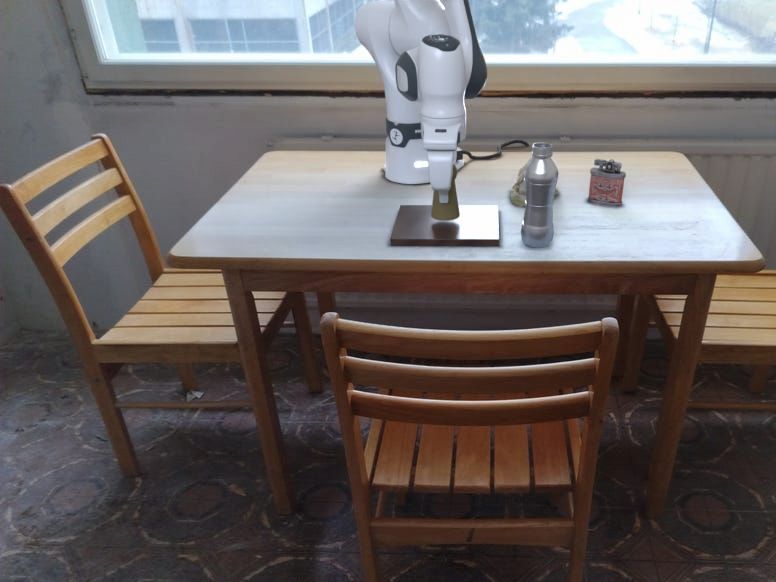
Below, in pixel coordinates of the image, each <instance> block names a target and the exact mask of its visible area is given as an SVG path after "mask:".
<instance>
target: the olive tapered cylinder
mask: <svg viewBox="0 0 776 582" xmlns="http://www.w3.org/2000/svg"><path fill="white" fill-rule="evenodd" d="M457 176H458V170H457V168H456V166H455V165H453V177H452V181H451V187H450V190H449V191H448V192H449V200H448V203H440V201H439V192H438V191H434V190H433V194H432V202H431V203H432V204H431V205H432V213H431V216H432V218H434V219H436V220H440V221H451V220H455V219H457V218H458V217H460V212H459V206H458V205H459V200H458V194H457V193H458V192H457V186H456V179H457Z"/></svg>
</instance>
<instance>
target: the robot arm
mask: <svg viewBox="0 0 776 582" xmlns="http://www.w3.org/2000/svg"><path fill="white" fill-rule="evenodd" d="M473 17H474V16H473V13H472V10H471V5H470V1H469V0H441V1H440V0H375V1H370V2H366V3H364V4H362V5H361V6H360V7H359V8H358V9H357V12H356V15H355V19H354V31H355V35H356V37H357V40H358V41H359V43H360V44H361V45H362V46H363V48H365V49H366V50H367V52H368V53H369V55H370V56H371V58H372V60H373V61H374V63H375V65H376V68H377V70H378V72H379V75H380V78H381V81H382V86H383V90H384V99H385V107H386V118H385V125H384V126H385V132H386V135H387V137H386V139H385V161H384V162H385V164H383V166H382V170H383V171H384V172H385V173H384V175H385V176H384V177H385V179H387V180H388V181H391V182H394V183H398V184H403V185H404V184H405V185H420V184H427V183H429V184H430V187H431V190H432V191H433V192H434V191H438V192H439V201H440V203H448V200H449V192H448V191H449V190H450V187H451V181H452V177H453V165H455V166H456V168H457V171H458V170H460V169H461V168H463V167H464V165H465V162H464V155H466V156H468V158H469V159H470V160H473V161H474V160H476V161H477V160H478V161H479V160H480V161H481V160H484V161H485V160H491V159H496V158H498V157H500V156H501V155H502V153H503V152H502V148H505V147H507V146H510V145H515V144H522V145H524V146H525V147H529V146H530V144H529V143H528V142H527V141H526V140H523V139H512V140H509V141H506V142H504V143H501V144H499V145H498V146H497V147H496V148H497V153H492V154H489V155H482V156H481V155H479V156H477V155H473V154H472V153H471V151H469V150H463V149H461V148H460V146H461V143H462V142H463V141H464V140H465V139H466V138H467V109H466V106H465V100H473V99H475V98H476V97H477V96H478V95H479V94H480V93H481V91H482V90H483V89H484V88H485V86H486V83H487V80H488V66H487V62H486V58H485V56H484V54H483V51H482V48H481V45H480V42H479V40H478V34H477V30H476V26H475V22H474V19H473Z"/></svg>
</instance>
